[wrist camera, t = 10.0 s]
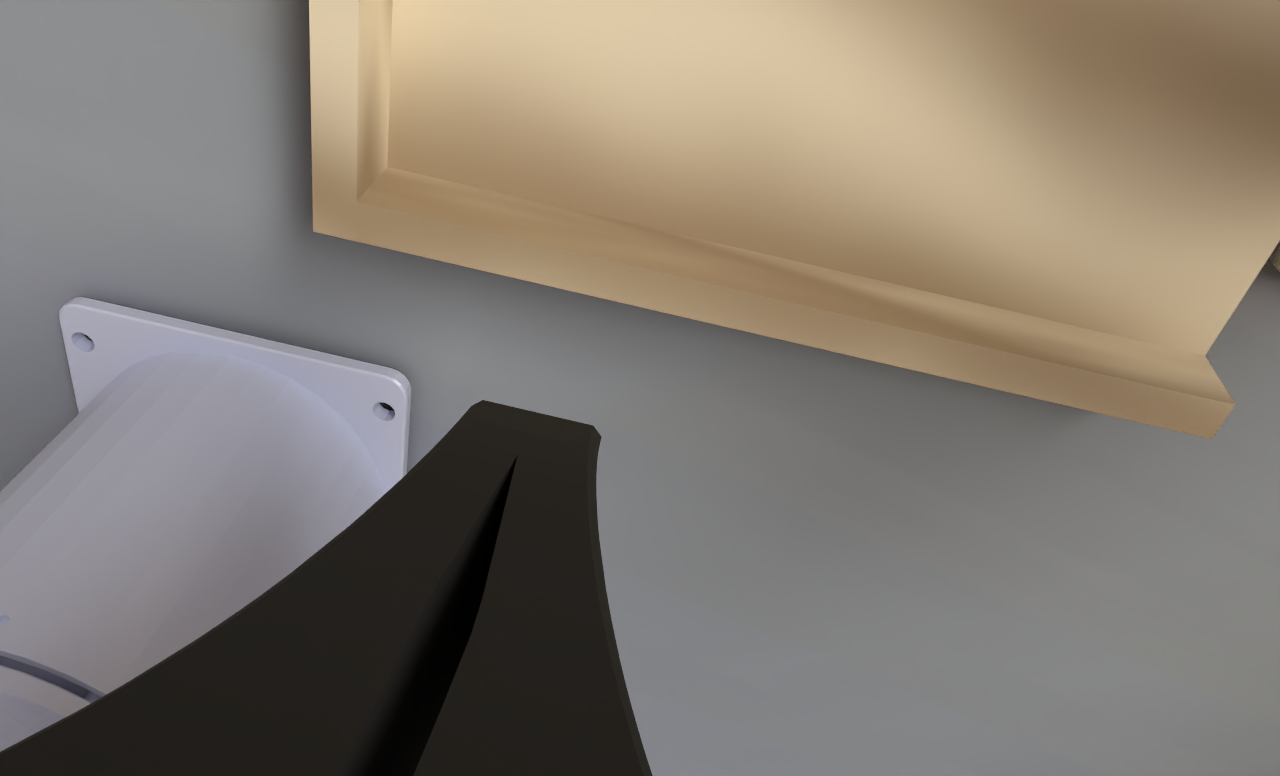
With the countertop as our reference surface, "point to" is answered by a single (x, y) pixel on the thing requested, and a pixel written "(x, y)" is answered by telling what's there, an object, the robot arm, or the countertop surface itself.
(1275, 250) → the cover plate
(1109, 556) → the countertop surface
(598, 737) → the robot arm
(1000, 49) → the tray
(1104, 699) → the countertop surface
